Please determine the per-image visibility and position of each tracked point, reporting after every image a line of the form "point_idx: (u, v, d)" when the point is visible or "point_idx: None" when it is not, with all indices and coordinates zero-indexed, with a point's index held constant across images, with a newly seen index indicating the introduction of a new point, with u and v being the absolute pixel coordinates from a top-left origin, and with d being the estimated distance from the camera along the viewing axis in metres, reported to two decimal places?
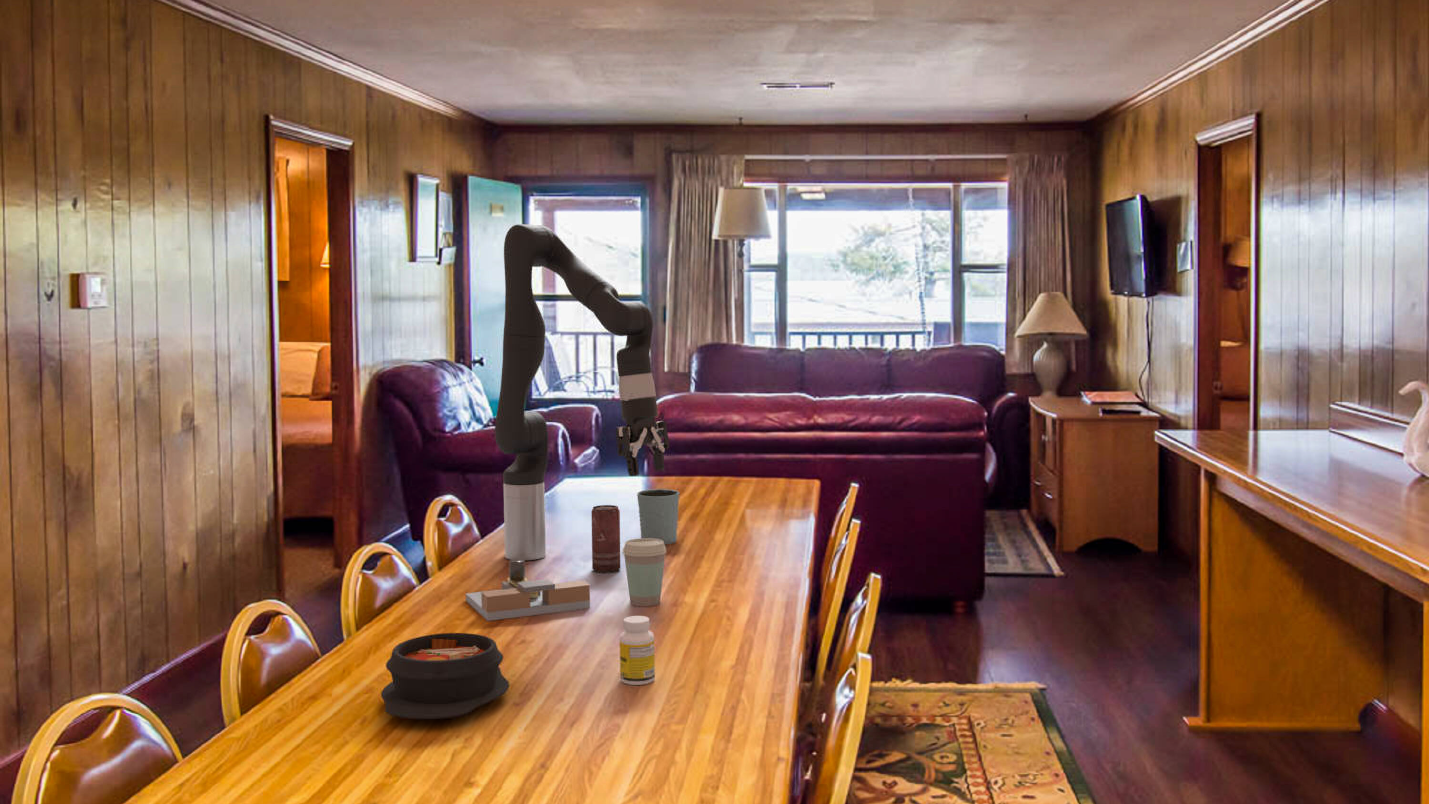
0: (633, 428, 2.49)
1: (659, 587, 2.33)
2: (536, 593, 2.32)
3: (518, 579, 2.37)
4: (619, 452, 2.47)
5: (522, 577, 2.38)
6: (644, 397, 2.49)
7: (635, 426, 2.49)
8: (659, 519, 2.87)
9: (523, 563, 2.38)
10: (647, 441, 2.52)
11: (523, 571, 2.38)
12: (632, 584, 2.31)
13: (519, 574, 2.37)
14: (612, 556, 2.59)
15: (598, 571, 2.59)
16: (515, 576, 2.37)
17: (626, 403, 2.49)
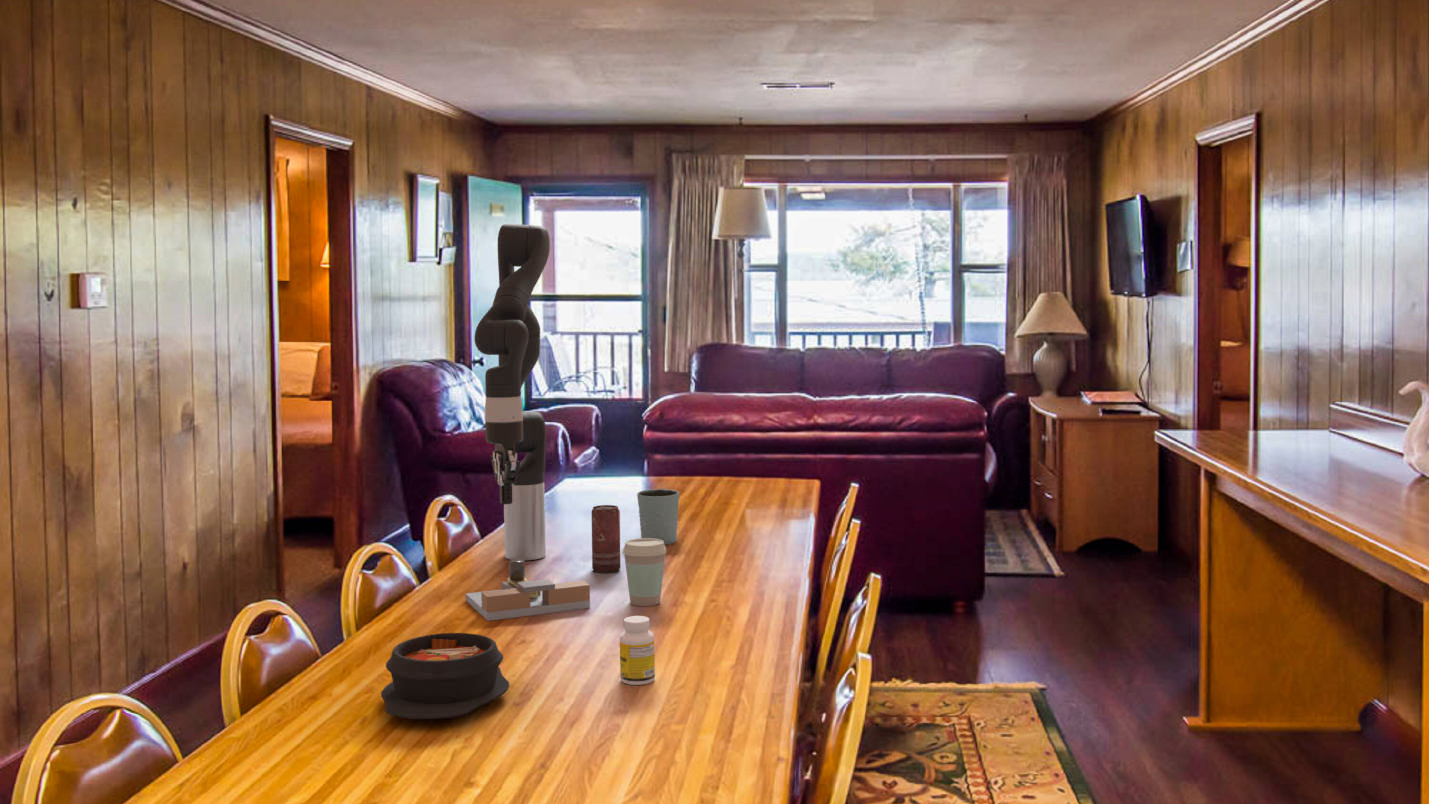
0: None
1: (659, 587, 2.33)
2: (536, 593, 2.32)
3: (518, 579, 2.37)
4: None
5: (522, 577, 2.38)
6: None
7: (495, 447, 2.46)
8: (659, 519, 2.87)
9: (523, 563, 2.38)
10: None
11: (523, 571, 2.38)
12: (632, 584, 2.31)
13: (519, 574, 2.37)
14: (612, 556, 2.59)
15: (598, 571, 2.59)
16: (515, 576, 2.37)
17: None
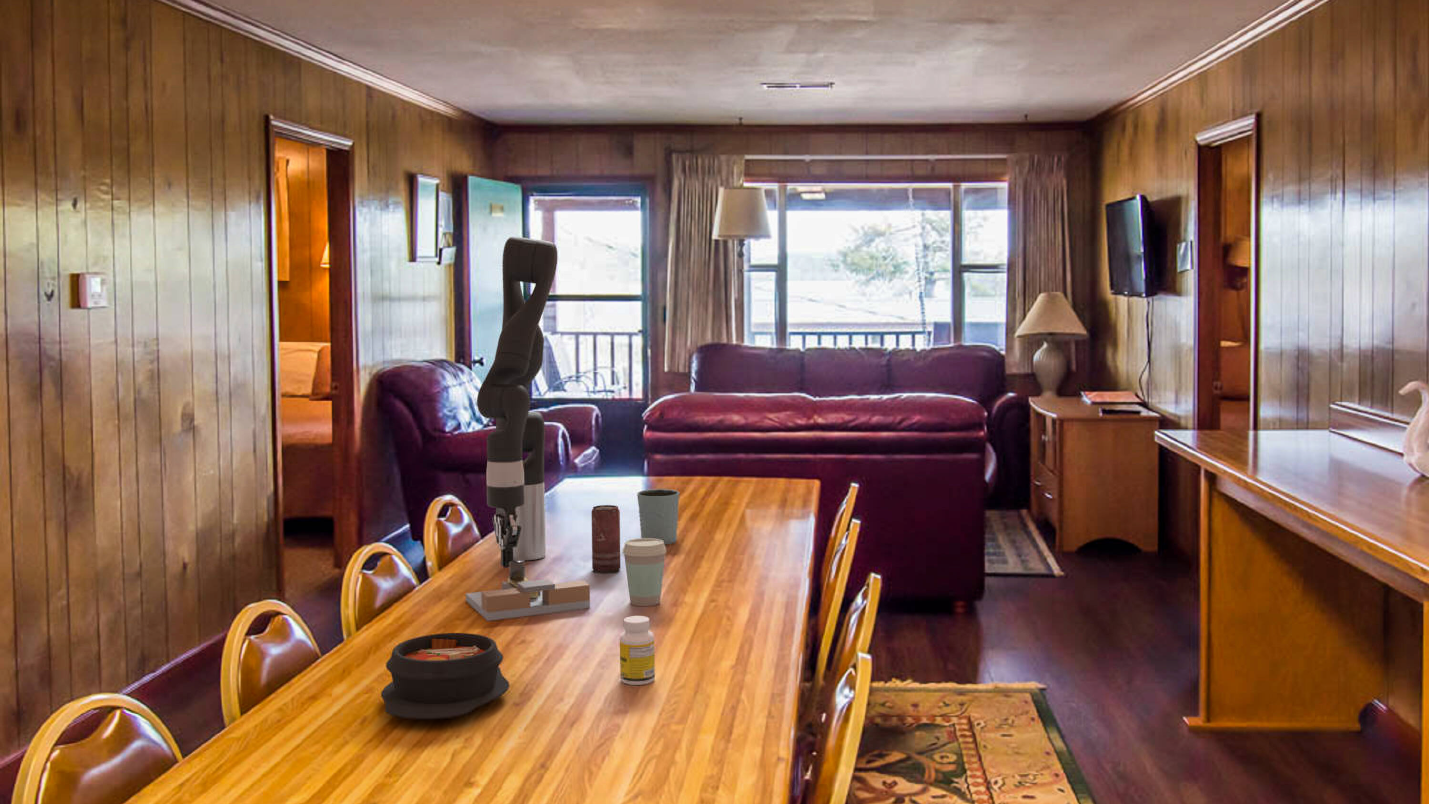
0: None
1: (659, 587, 2.33)
2: (536, 593, 2.32)
3: (518, 579, 2.37)
4: None
5: (522, 577, 2.38)
6: None
7: (496, 510, 2.47)
8: (659, 519, 2.87)
9: (523, 563, 2.38)
10: None
11: (523, 571, 2.38)
12: (632, 584, 2.31)
13: (519, 574, 2.37)
14: (612, 556, 2.59)
15: (598, 571, 2.59)
16: (515, 576, 2.37)
17: None
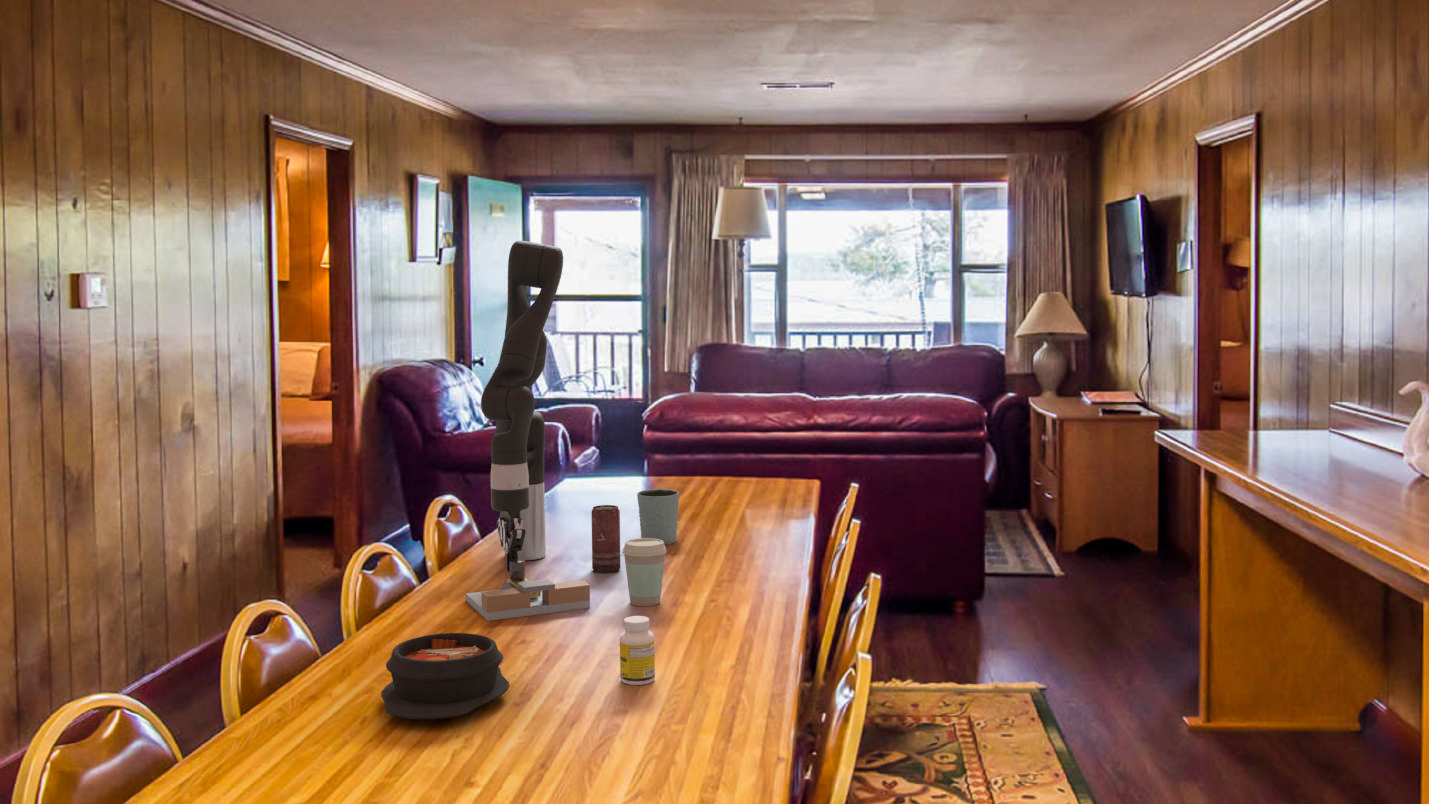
0: None
1: (659, 587, 2.33)
2: (536, 593, 2.32)
3: (518, 579, 2.37)
4: None
5: (522, 577, 2.38)
6: None
7: (500, 513, 2.43)
8: (659, 519, 2.87)
9: (523, 563, 2.38)
10: None
11: (523, 571, 2.38)
12: (632, 584, 2.31)
13: (519, 574, 2.37)
14: (612, 556, 2.59)
15: (598, 571, 2.59)
16: (515, 576, 2.37)
17: None
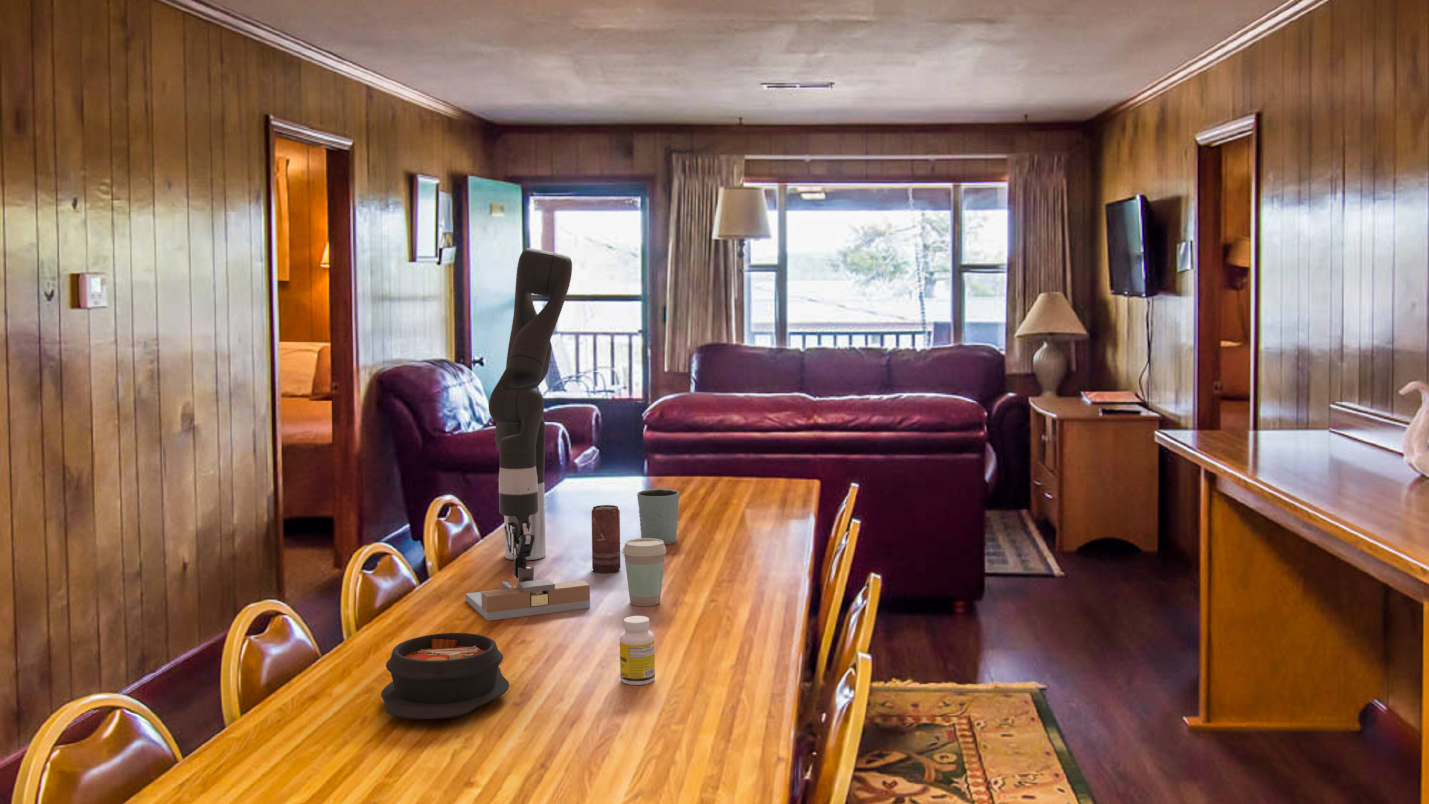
0: None
1: (659, 587, 2.33)
2: (546, 600, 2.26)
3: None
4: None
5: None
6: None
7: (508, 518, 2.38)
8: (659, 519, 2.87)
9: (532, 569, 2.33)
10: None
11: (532, 577, 2.33)
12: (632, 584, 2.31)
13: None
14: (612, 556, 2.59)
15: (598, 571, 2.59)
16: None
17: None
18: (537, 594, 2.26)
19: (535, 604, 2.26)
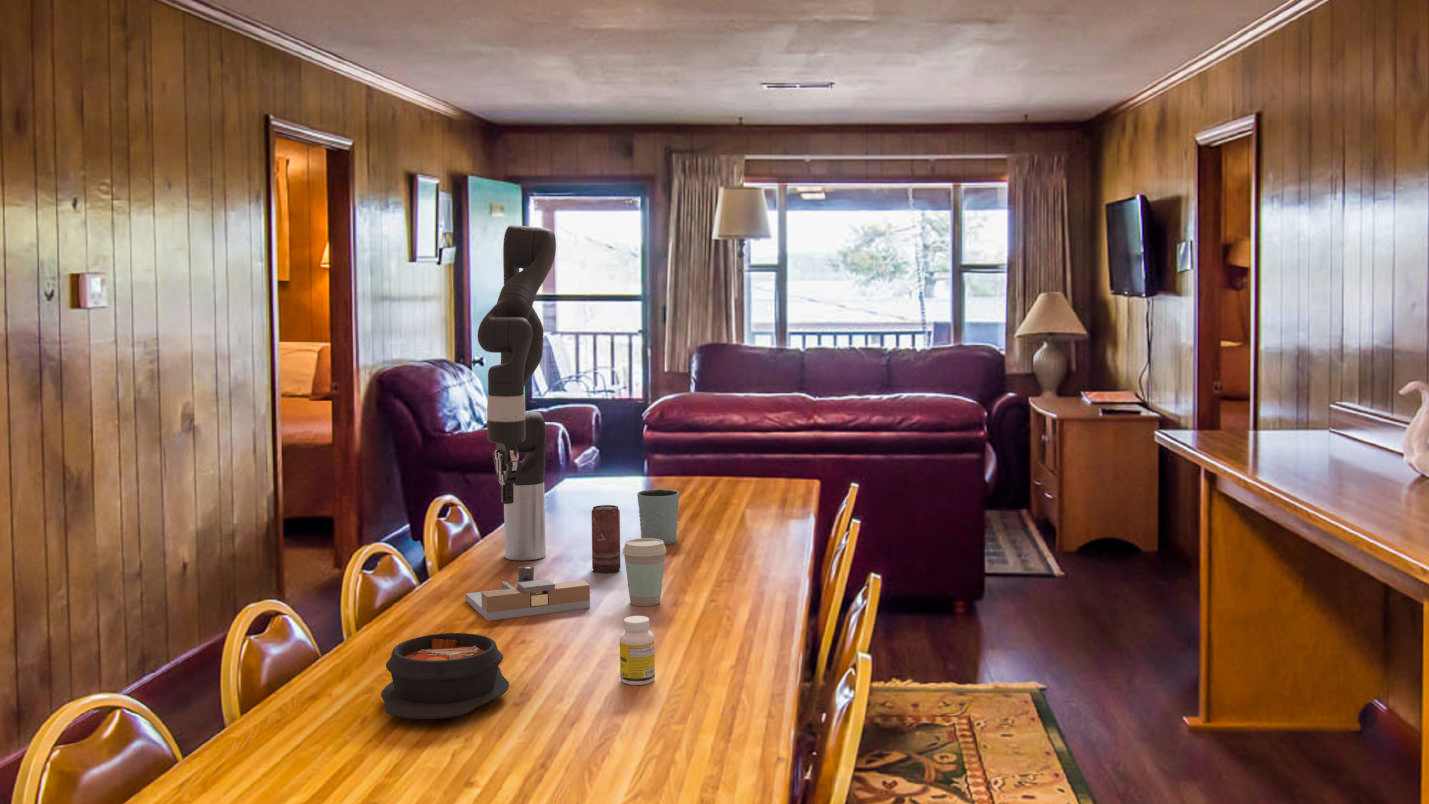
0: None
1: (659, 587, 2.33)
2: (546, 600, 2.26)
3: None
4: None
5: None
6: None
7: (497, 445, 2.43)
8: (659, 519, 2.87)
9: (532, 569, 2.33)
10: None
11: (532, 577, 2.33)
12: (632, 584, 2.31)
13: None
14: (612, 556, 2.59)
15: (598, 571, 2.59)
16: None
17: None
18: (537, 594, 2.26)
19: (535, 604, 2.26)
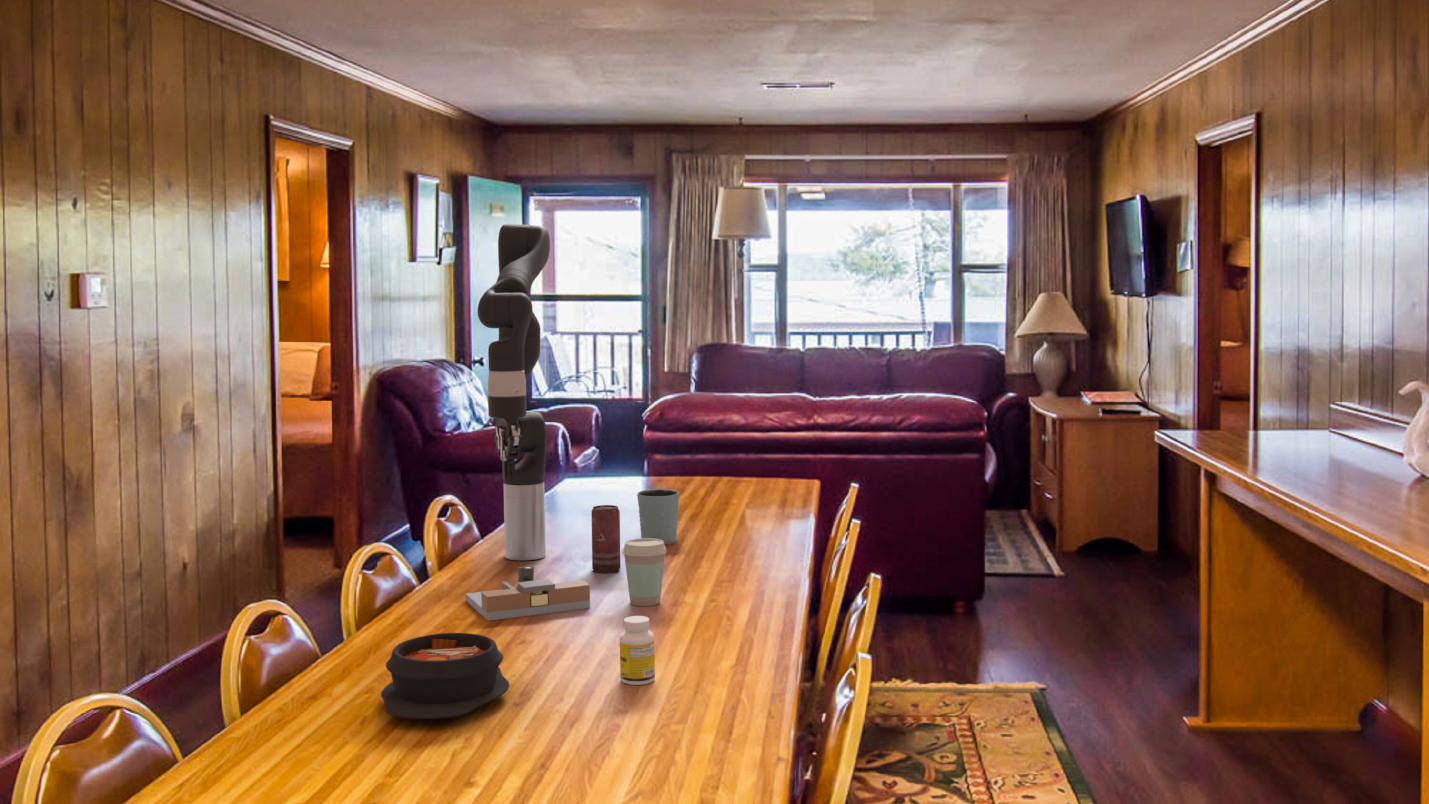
0: None
1: (659, 587, 2.33)
2: (546, 600, 2.26)
3: None
4: None
5: None
6: None
7: (498, 422, 2.42)
8: (659, 519, 2.87)
9: (532, 569, 2.33)
10: None
11: (532, 577, 2.33)
12: (632, 584, 2.31)
13: None
14: (612, 556, 2.59)
15: (598, 571, 2.59)
16: None
17: None
18: (537, 594, 2.26)
19: (535, 604, 2.26)
